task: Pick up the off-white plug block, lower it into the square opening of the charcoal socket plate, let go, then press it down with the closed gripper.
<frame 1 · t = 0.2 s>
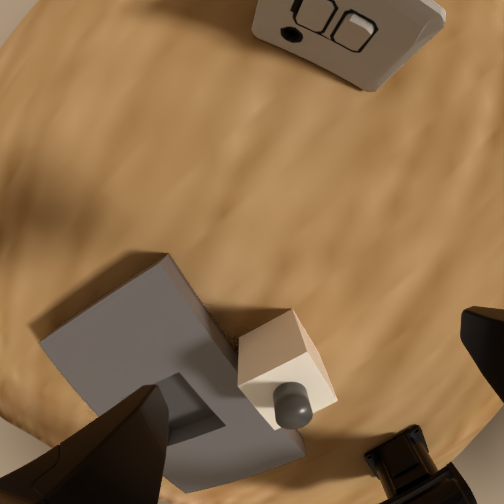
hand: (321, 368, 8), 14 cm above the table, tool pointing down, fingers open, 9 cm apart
plug: (280, 345, 23), on the table
electrical switch: (322, 35, 18), on the table
socket plate: (177, 394, 24), on the table
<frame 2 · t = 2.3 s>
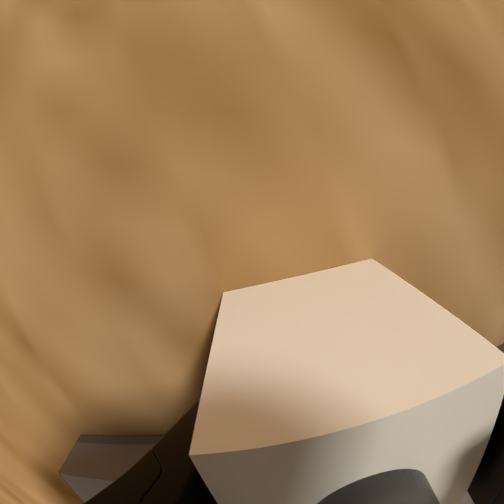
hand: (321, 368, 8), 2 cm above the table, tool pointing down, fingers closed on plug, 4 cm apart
plug: (311, 342, 9), on the table, touching gripper
socket plate: (333, 498, 11), on the table
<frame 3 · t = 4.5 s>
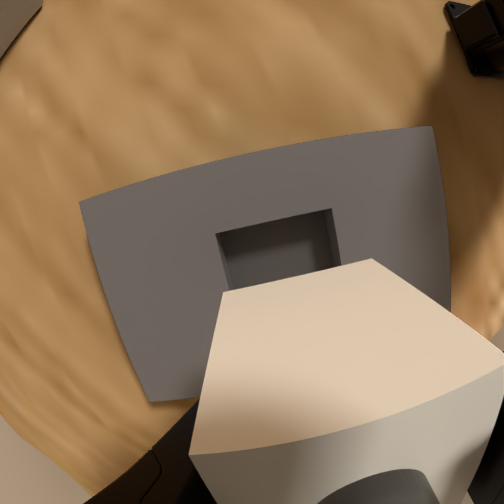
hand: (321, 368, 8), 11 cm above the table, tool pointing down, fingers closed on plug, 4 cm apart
plug: (311, 342, 9), point 10 cm above the table, touching gripper
socket plate: (281, 264, 19), on the table
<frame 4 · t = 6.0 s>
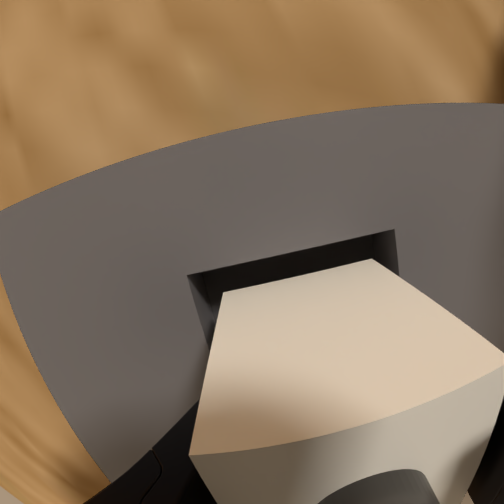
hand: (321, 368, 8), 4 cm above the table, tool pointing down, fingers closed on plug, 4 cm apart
plug: (311, 342, 9), point 2 cm above the table, touching gripper
socket plate: (299, 314, 12), on the table
when the fingers open (3 cm above the table, at t = 7.0 s): plug stays where it is, resting on socket plate.
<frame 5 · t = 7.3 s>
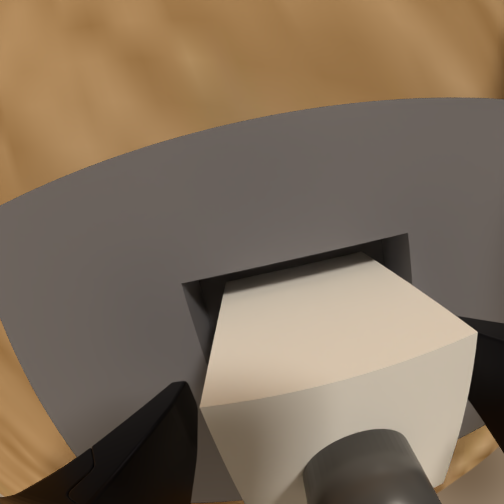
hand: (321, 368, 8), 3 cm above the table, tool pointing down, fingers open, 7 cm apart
plug: (306, 328, 10), resting on socket plate
socket plate: (303, 323, 11), on the table
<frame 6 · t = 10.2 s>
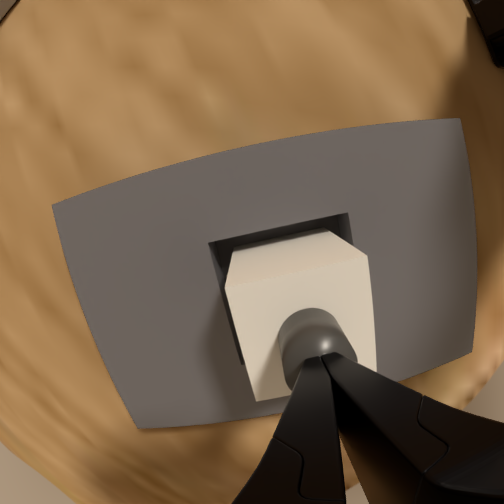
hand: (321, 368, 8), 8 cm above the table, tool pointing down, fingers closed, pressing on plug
plug: (288, 280, 16), resting on socket plate, touching gripper
socket plate: (286, 277, 16), on the table
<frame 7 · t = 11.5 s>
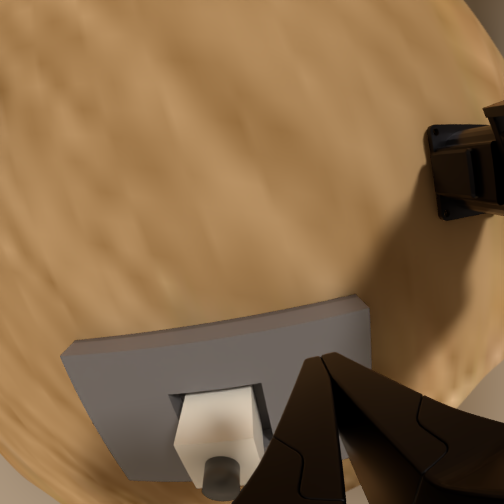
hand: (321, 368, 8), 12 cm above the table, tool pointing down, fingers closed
plug: (225, 405, 21), resting on socket plate
socket plate: (225, 401, 21), on the table
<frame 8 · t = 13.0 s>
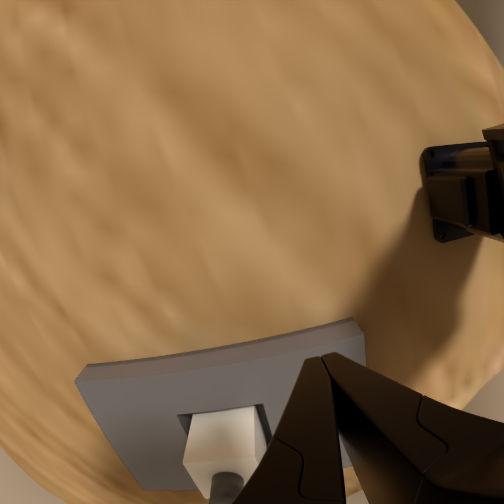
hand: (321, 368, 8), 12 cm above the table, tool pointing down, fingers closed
plug: (231, 421, 22), resting on socket plate
socket plate: (231, 417, 22), on the table
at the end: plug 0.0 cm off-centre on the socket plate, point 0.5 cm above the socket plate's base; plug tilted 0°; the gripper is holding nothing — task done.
